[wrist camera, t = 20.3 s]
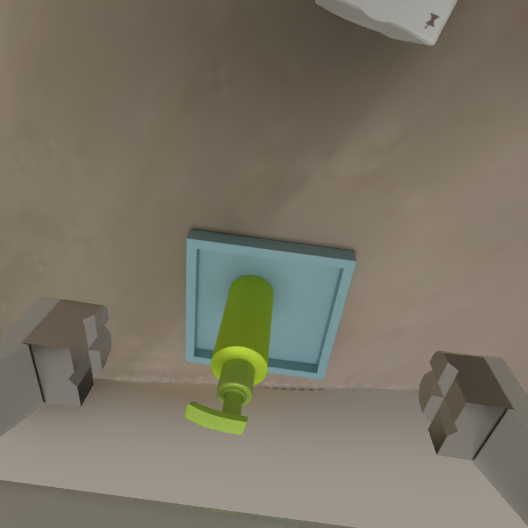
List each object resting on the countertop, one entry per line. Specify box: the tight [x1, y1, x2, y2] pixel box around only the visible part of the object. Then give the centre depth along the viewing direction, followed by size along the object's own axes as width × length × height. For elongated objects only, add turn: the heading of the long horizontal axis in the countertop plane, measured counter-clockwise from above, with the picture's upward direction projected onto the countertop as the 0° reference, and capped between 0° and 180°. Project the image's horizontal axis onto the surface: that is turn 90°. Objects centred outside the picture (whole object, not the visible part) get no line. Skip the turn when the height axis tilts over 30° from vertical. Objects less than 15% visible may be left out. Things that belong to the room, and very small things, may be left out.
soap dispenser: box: [184, 275, 274, 435], centre depth 43 cm, size 6×7×20 cm
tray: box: [185, 229, 356, 380], centre depth 52 cm, size 20×20×2 cm
